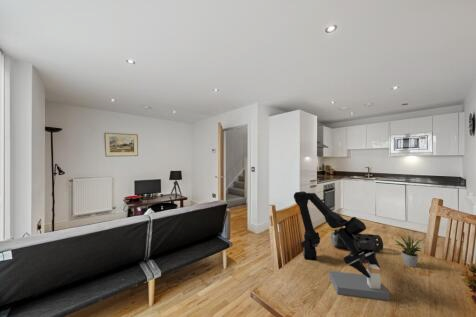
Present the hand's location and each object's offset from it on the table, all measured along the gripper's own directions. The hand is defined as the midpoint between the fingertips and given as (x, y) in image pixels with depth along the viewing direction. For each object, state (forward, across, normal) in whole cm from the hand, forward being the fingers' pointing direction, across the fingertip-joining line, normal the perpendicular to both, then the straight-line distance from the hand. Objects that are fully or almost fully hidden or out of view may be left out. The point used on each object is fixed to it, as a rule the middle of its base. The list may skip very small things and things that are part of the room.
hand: (375, 274), depth 81 cm
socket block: (+2, -3, +10) cm, 11 cm away
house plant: (+5, +44, +7) cm, 45 cm away
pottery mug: (-7, +20, +19) cm, 28 cm away
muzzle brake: (-13, +35, +25) cm, 45 cm away
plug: (+5, 0, +6) cm, 8 cm away
